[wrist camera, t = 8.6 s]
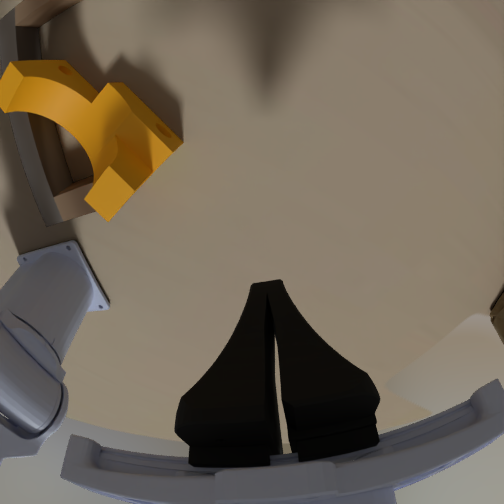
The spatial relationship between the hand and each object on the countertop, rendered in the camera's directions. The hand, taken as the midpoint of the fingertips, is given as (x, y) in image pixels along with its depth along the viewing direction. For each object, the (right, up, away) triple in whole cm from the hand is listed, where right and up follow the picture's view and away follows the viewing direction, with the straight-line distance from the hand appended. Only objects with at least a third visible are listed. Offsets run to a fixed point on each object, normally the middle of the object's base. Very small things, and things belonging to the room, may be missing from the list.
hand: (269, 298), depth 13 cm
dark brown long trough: (-15, +14, +2) cm, 21 cm away
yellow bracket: (-11, +12, +3) cm, 17 cm away
